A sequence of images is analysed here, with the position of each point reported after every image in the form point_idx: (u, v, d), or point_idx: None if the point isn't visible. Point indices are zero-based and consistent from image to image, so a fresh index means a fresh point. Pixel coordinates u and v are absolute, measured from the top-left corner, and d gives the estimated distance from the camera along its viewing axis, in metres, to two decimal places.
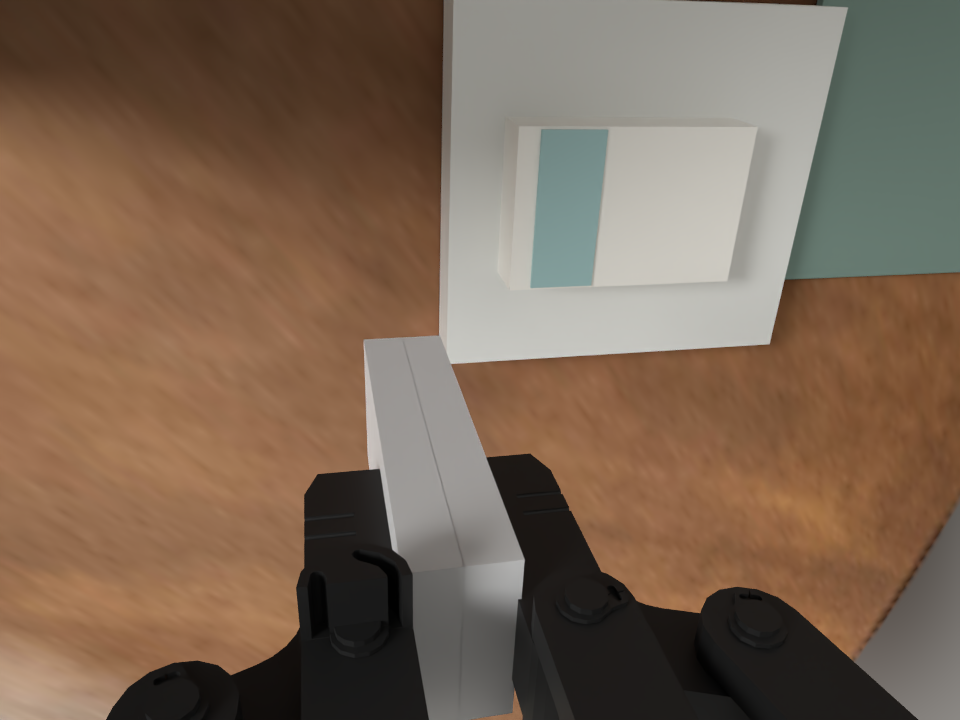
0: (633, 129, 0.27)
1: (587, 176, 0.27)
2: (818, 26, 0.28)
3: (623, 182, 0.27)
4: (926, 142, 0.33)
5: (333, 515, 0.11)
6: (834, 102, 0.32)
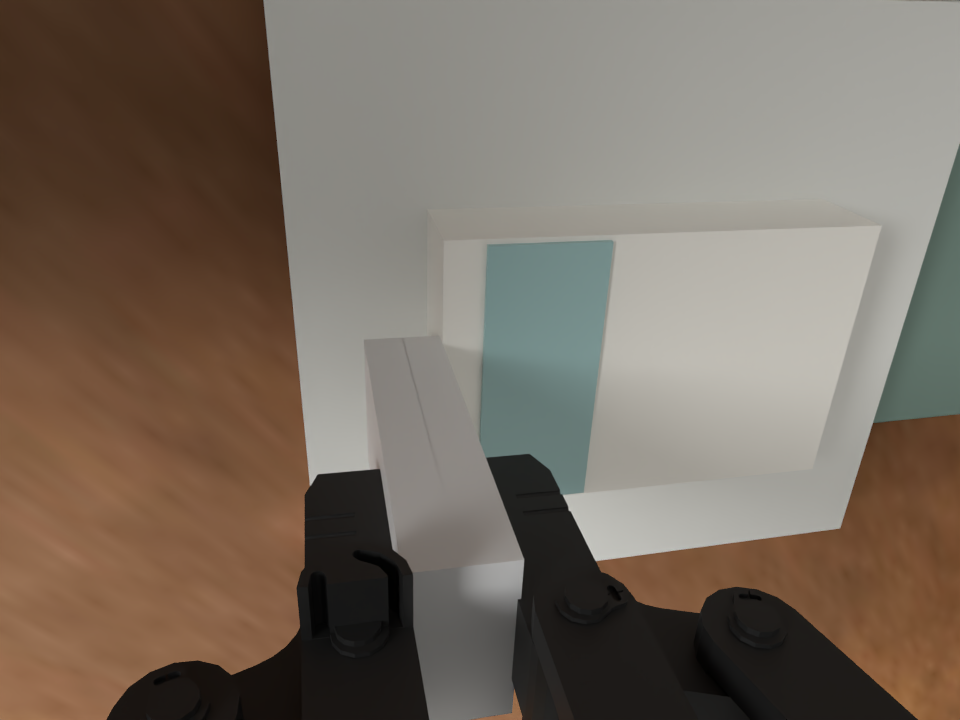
0: (659, 238, 0.14)
1: (576, 322, 0.15)
2: (949, 37, 0.16)
3: (640, 327, 0.15)
4: None
5: (333, 515, 0.11)
6: None
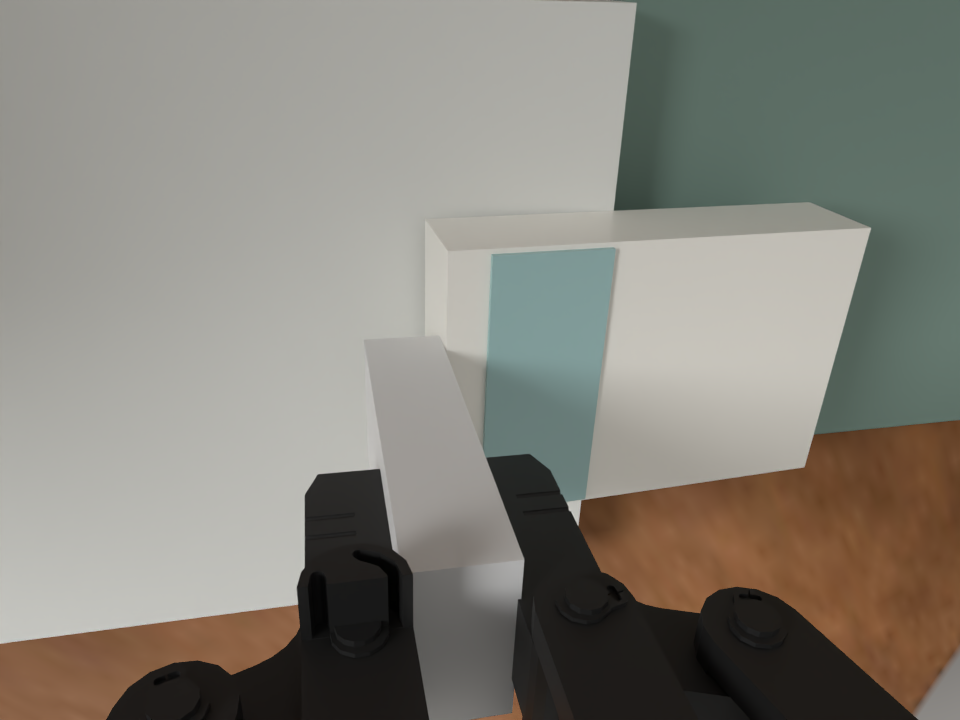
0: (660, 244, 0.14)
1: (579, 329, 0.15)
2: (580, 41, 0.14)
3: (641, 333, 0.15)
4: None
5: (333, 515, 0.11)
6: (653, 173, 0.18)
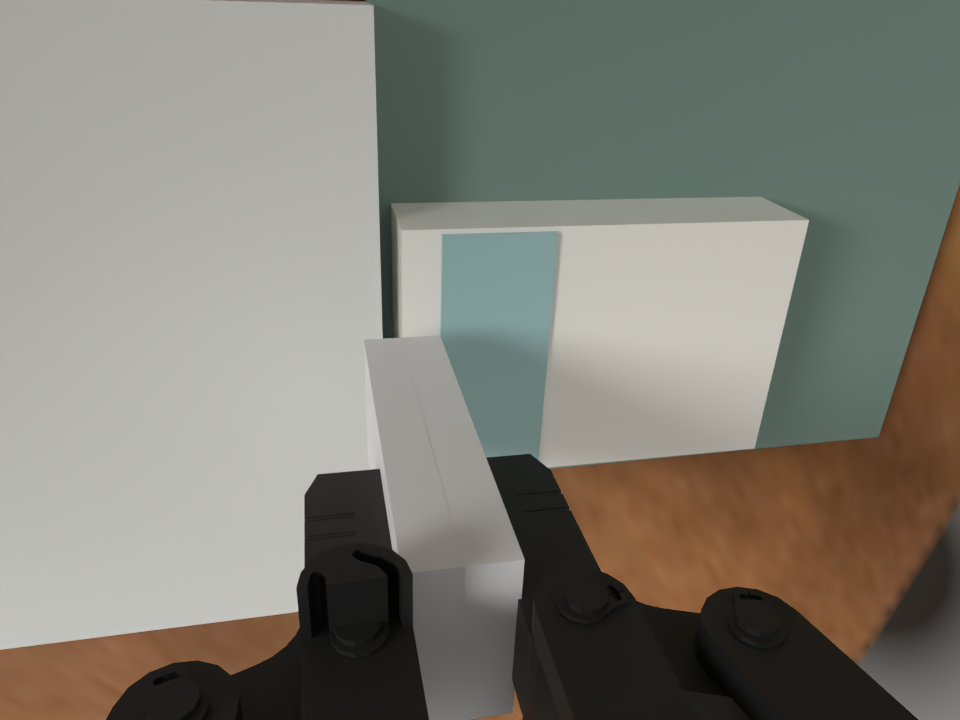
0: (601, 229, 0.16)
1: (526, 306, 0.16)
2: (314, 45, 0.13)
3: (587, 312, 0.17)
4: None
5: (333, 515, 0.11)
6: (443, 186, 0.17)
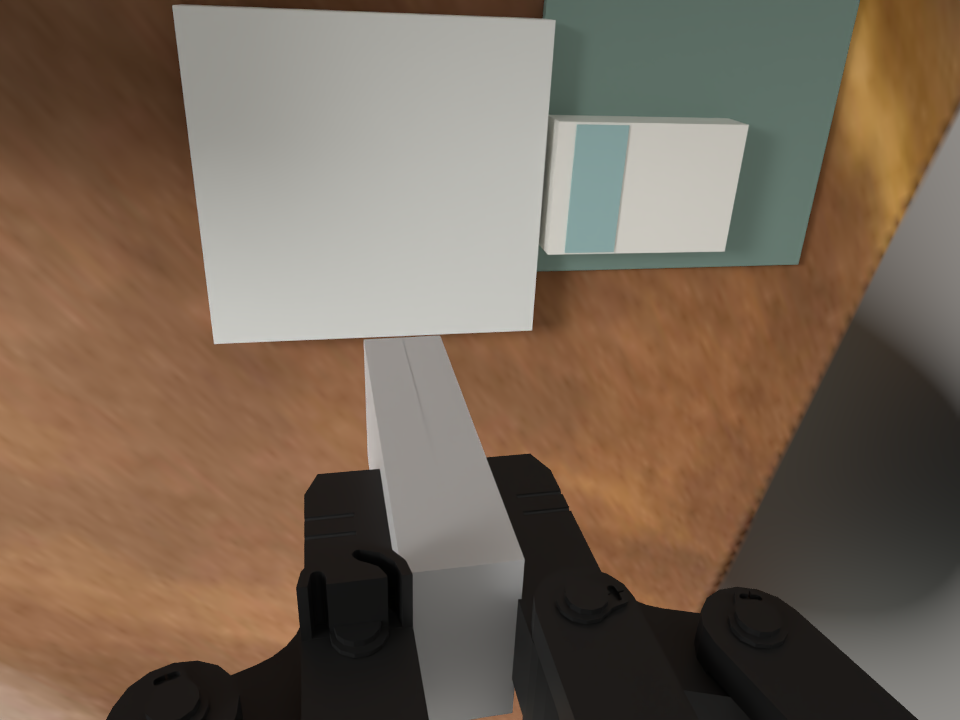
0: (649, 125, 0.34)
1: (612, 162, 0.34)
2: (529, 37, 0.31)
3: (640, 167, 0.34)
4: None
5: (333, 515, 0.11)
6: (571, 106, 0.34)
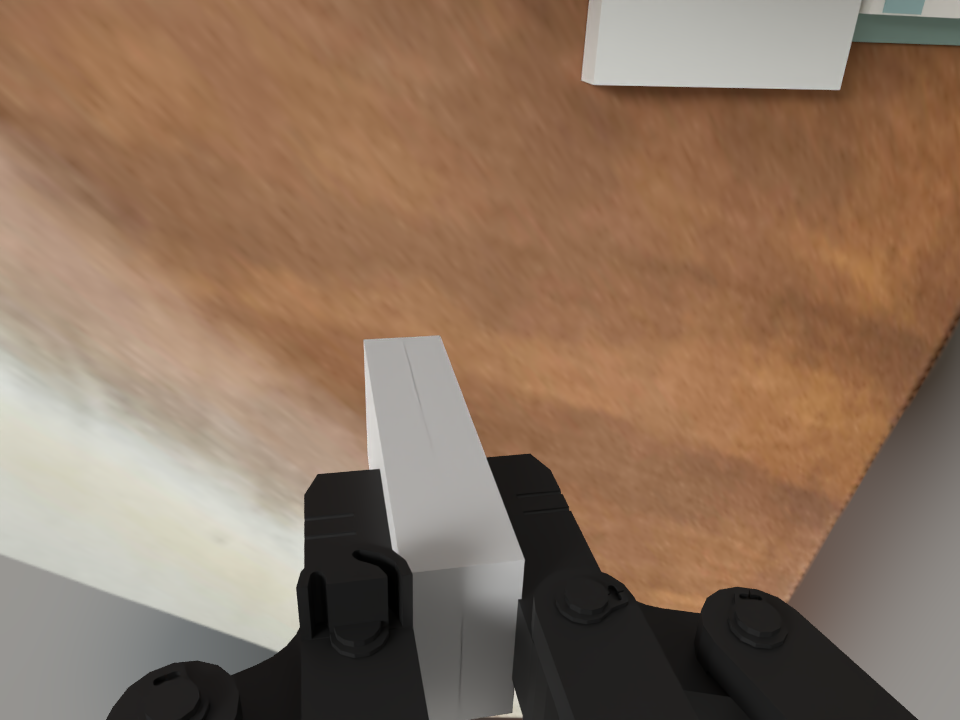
0: None
1: None
2: None
3: None
4: None
5: (333, 515, 0.11)
6: None
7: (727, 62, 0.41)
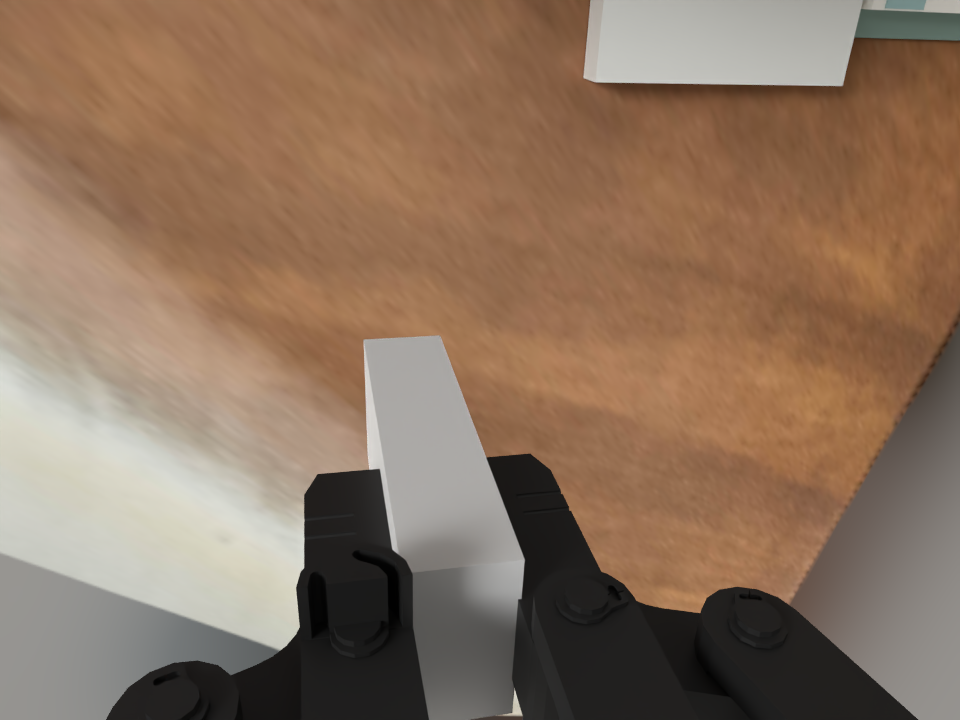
0: None
1: None
2: None
3: None
4: None
5: (333, 515, 0.11)
6: None
7: (729, 59, 0.41)
